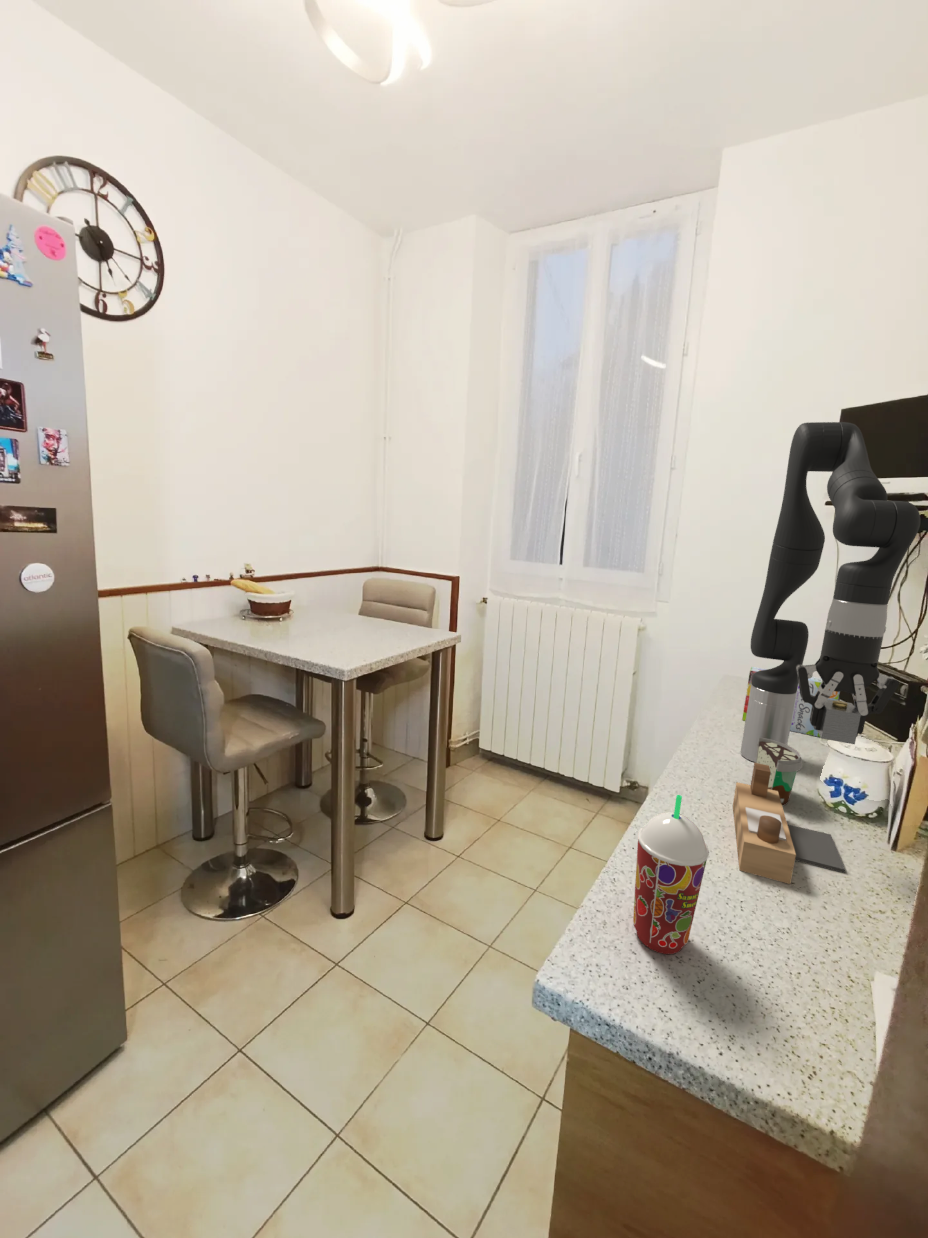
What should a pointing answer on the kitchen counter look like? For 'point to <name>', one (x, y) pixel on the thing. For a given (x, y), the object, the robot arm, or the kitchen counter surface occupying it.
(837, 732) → the grey box
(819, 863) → the mat
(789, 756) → the food container
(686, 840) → the smoothie
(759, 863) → the plane body
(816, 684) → the snack box
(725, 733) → the kitchen counter surface
